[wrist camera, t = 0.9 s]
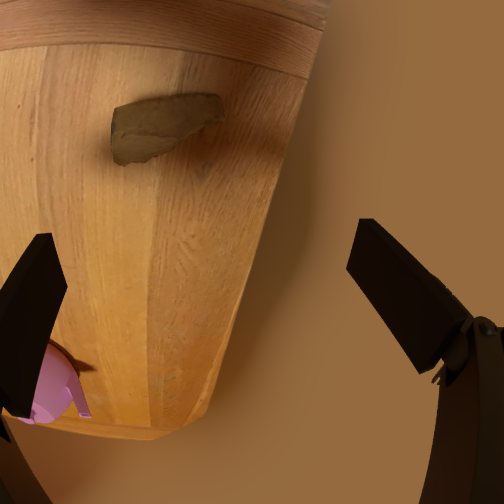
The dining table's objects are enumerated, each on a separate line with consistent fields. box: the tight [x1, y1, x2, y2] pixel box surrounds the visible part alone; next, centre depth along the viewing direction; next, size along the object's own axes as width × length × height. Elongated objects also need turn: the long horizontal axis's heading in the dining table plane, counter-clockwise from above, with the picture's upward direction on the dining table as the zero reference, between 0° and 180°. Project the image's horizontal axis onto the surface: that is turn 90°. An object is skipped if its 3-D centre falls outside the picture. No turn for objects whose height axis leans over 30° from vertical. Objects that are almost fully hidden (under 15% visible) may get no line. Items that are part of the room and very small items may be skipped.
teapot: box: [17, 343, 91, 424], centre depth 33 cm, size 22×16×12 cm
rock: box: [111, 94, 225, 167], centre depth 24 cm, size 11×9×10 cm
